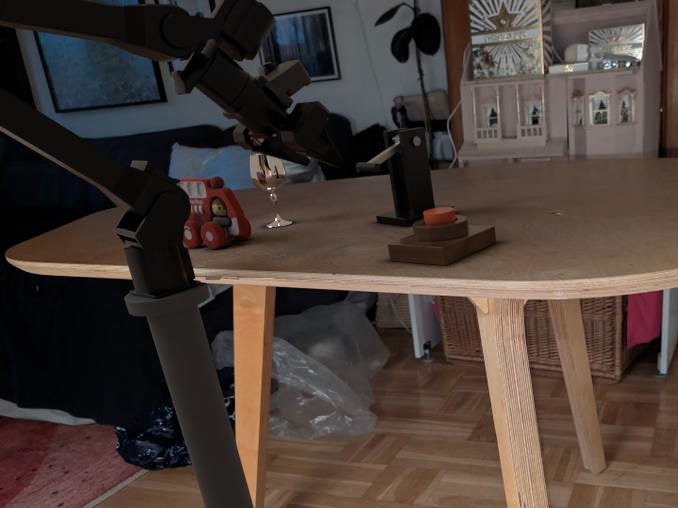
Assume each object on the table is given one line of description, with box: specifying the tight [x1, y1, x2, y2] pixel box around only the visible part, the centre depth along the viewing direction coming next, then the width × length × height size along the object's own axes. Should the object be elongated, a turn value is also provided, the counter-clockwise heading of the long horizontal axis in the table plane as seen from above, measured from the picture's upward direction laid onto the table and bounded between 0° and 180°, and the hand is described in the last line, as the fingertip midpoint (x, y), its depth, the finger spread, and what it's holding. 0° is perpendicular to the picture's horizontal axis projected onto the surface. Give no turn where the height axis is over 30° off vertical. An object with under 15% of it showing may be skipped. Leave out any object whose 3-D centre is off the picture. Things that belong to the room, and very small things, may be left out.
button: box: [423, 207, 456, 225], centre depth 89 cm, size 4×4×2 cm
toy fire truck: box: [176, 175, 252, 250], centre depth 110 cm, size 7×12×10 cm, turn 60°
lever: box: [355, 134, 401, 172], centre depth 108 cm, size 10×5×2 cm, turn 133°
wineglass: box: [249, 153, 293, 228], centre depth 119 cm, size 6×6×12 cm
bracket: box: [375, 126, 456, 228], centre depth 111 cm, size 10×8×14 cm
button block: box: [387, 214, 497, 266], centre depth 90 cm, size 11×9×4 cm
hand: (324, 164), depth 101 cm, fingers open, 9 cm apart
